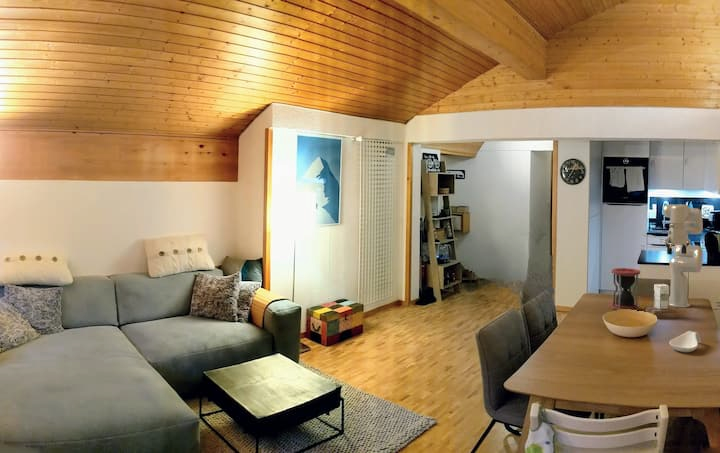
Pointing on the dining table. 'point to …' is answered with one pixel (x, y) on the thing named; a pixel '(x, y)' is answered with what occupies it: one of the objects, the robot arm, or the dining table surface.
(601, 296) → the dining table surface
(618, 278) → the hourglass
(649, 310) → the walnut block
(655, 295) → the syrup box
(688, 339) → the spoon rest
